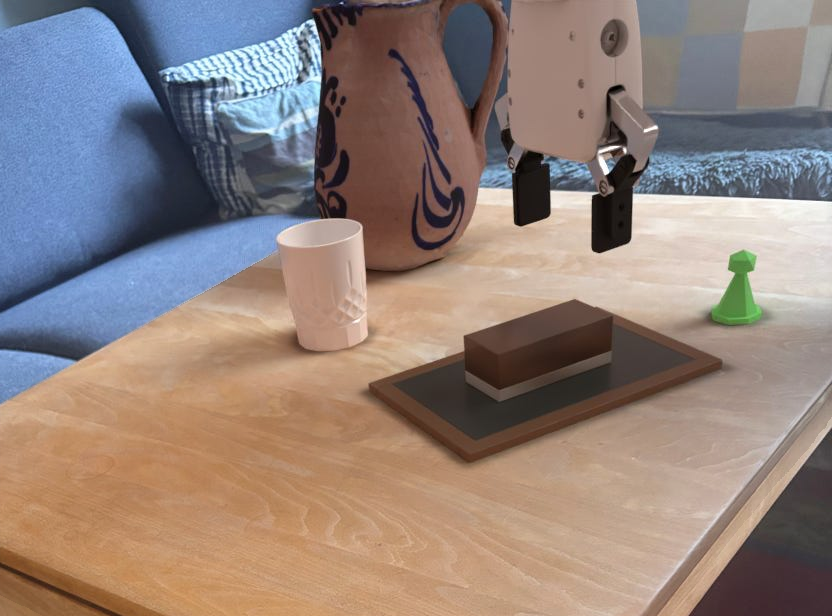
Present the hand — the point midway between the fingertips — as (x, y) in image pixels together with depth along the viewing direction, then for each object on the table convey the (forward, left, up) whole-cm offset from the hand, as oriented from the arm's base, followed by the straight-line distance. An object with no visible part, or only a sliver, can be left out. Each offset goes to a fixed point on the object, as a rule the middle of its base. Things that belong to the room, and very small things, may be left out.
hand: (570, 234), depth 74 cm
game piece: (-18, +1, -12) cm, 21 cm away
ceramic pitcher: (-6, -36, -12) cm, 39 cm away
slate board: (+3, 0, -11) cm, 12 cm away
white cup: (+12, -21, -12) cm, 27 cm away
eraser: (+3, 0, -10) cm, 11 cm away
